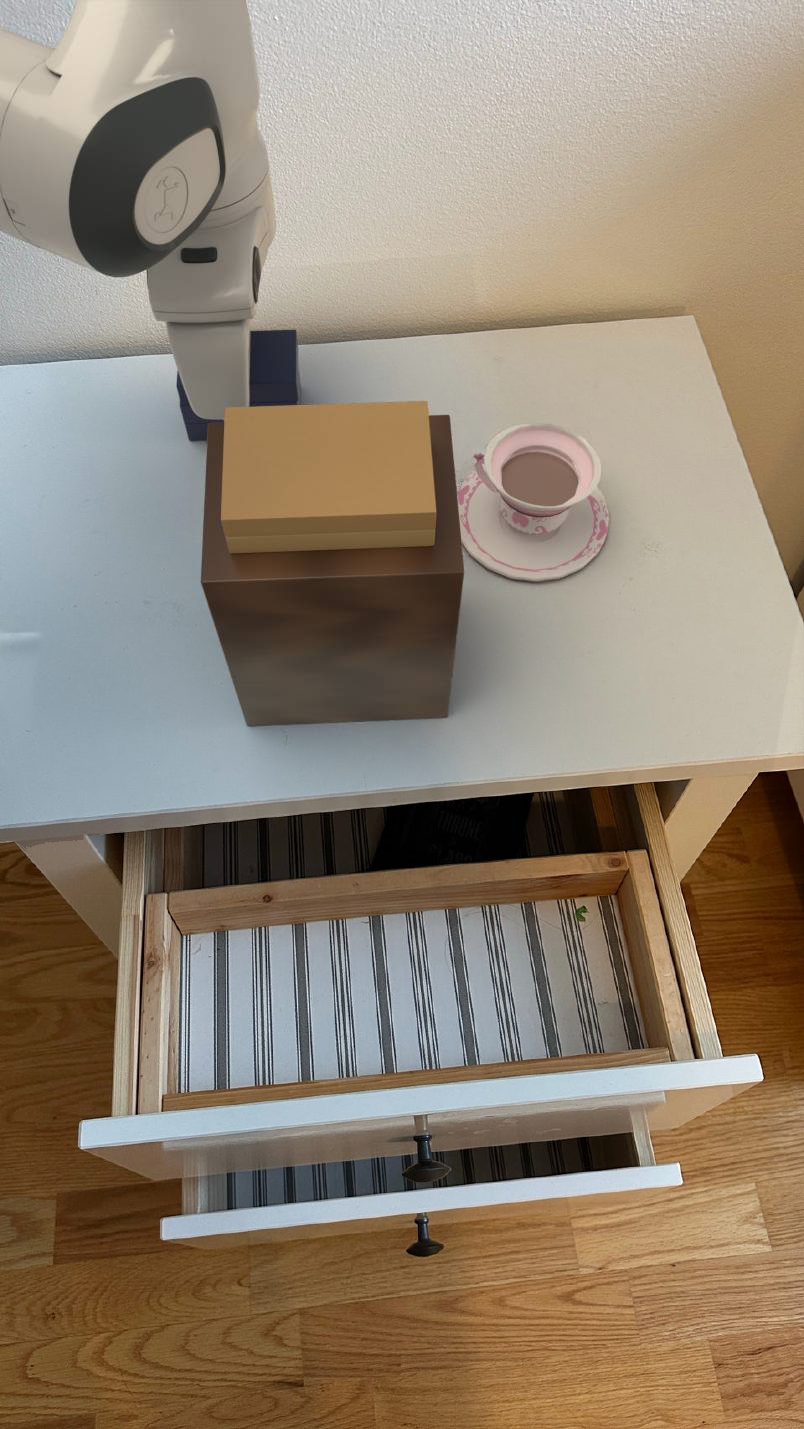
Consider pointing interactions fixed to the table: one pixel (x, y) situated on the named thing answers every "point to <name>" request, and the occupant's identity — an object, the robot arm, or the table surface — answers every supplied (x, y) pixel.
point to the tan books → (328, 477)
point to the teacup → (534, 504)
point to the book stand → (338, 614)
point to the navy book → (268, 367)
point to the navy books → (199, 426)
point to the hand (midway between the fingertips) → (236, 368)
